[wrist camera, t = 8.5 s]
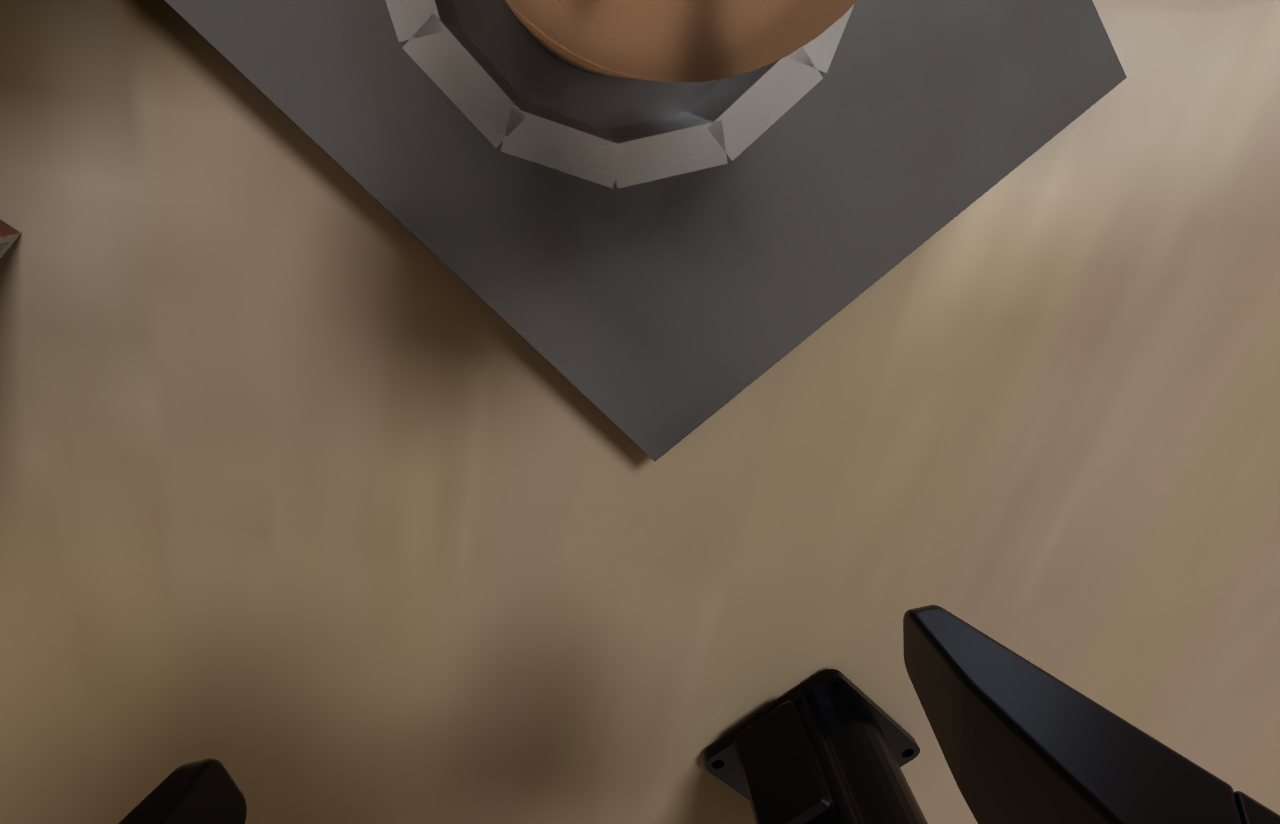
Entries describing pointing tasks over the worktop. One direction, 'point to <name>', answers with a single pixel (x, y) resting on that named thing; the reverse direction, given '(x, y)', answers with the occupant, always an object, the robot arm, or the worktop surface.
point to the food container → (7, 237)
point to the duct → (670, 168)
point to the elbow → (675, 34)
